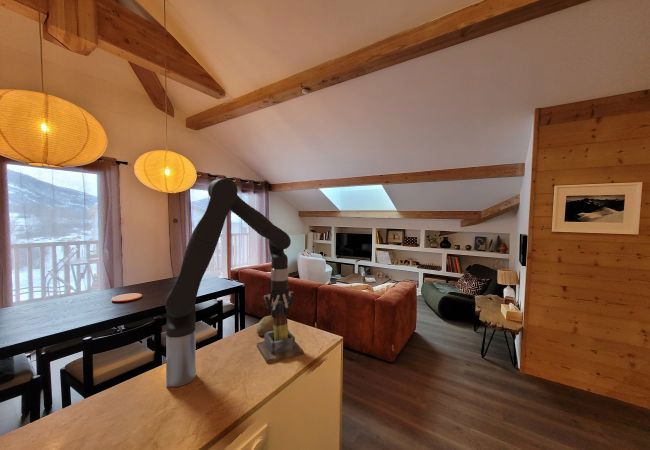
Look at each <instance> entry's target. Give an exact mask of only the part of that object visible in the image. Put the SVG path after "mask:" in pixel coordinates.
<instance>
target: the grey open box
mask: <svg viewBox="0 0 650 450" xmlns="http://www.w3.org/2000/svg"><path fill="white" fill-rule="evenodd" d="M263 337H264V340H263V341H258V342H256V348H257V349H258V351H259V353H260V354H261V356H262V358H263V359H264V360H265V362H266V364H271V363H275V362H278V361H281V360H285V359H289V358H292V357H296V356H301V355H303V354H304V349H303V348H302V347H301V346H300V345H299V344H298V343H297V342H296V338H295V335H293V334H292V333H291V331H289V330H288V339H284V340H279V341H275V342H274V331H270V332H267V333H264V336H263Z"/></svg>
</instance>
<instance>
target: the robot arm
mask: <svg viewBox="0 0 650 450" xmlns="http://www.w3.org/2000/svg"><path fill="white" fill-rule="evenodd" d="M207 194H208V195H209V197H210V198H209V201H208V204H207V207H206V210H205V212H204V213H203V215H202V216H201V218H200V219H199V221H198V223H197V225H196V226H195V227H194V229H193V231H192V233H191V236H190V238H189V239H188V243H187V245H186V249H185V251H184V254H183V255H184V256H183V259H182V263H181V267H180V271H179V275H178V277H177V279H176V282H175V284H174V286H173V288H172V289H171V290H170V291H169V292H168V294H167V296H166V299H165V302H164V306H165V307H164V308H165V311H166V324H165V325H166V326H165V338H166V339H165V340H166V343H165V345H166V349H165V351H166V355H165V356H166V357H165V373H166V375H165V377H166V378H165V379H166V380H165V381H166V382H165V384H166V385H165V387H166V388H169V387H171V388H173V387H174V388H176V387H182V386H185V385H188V384H190V383H191V382H193V380H195V379H196V375H197V373H196V372H197V370H196V369H197V367H196V365H197V364H196V363H197V362H196V361H197V360H196V359H197V358H196V351H197V349H196V342H197V341H196V336H197V335H196V301H197V296H198V293H199V289H200V285H201V282H202V279H203V278H204V275H205V273H206V271H207V270H208V268H209V266H210V262H211V261H212V259H213V256H214V254H215V252H216V248H217V246H218V244H219V243H218V242H219V239H220V237H221V234H222V232H223V228H224V225H225V221H226V220H227V217H228V215H229V212H231V213H233V214H235V215H236V216H237V217H238V218H239V219H241V220H242V221H243V222H244V223H245V224H247V225H248V226H249V227H250V228H251V229H252V230H254V231H255V232H256V233H257V234H259V235H260V236H261V237H262V238H264V239H267V240H268V247H269V252H270V257H271V269H270V292H269V293H268V294H264V295H263V299H264V301H265V302H264V303H265V306H266V309H268V310H270V315H271V316H272V317H273V318H275V313H276V312H275V311H276V309H275V307H276V305H277V302H280V301H283V302H284V312H285V316H286V317H287V316H288V311H289V310H288V308H289V307H291V306H292V305H293V303H294V298H295V295H296V294H295V292H294V291H292V290H291V291H290V290H289V266H288V265H289V263H288V261H289V259H288V255H287V254H286V253H285V250H286V249H288V248H289V247H290V246H291V243H292V242H291V237H290V236H289V234H288V233H287V232H286V231H284V230H282V229H281V228H280V227H278V226H277V225H275V224H273V222H272V221H270V220H269V219H268V218H267V217H266V216H265V215H264V214H262V213H261V212H260V211H259V210H257V209H256V208H254V207H252V206H251V205H249V203H247V202H245V201H244V200H243V199H242V198H241V197H240V196H239V195H238V187H237V184H236V183H235V181H234V180H232V179H231V178H228V177H223V178H222V177H221V178H218V179H214V180H212V181H211V182H210V183H209V185H208V188H207ZM287 297H288V299H287ZM271 298H272V299H271ZM270 299H271V303H270Z"/></svg>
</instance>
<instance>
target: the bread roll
mask: <svg viewBox="0 0 650 450" xmlns="http://www.w3.org/2000/svg"><path fill="white" fill-rule="evenodd" d="M273 324H274V322H273V317H272V316H271V314H270V315H267V316H264V317H263V318H261V319H260V321H259V322H258V324H257V326H256V333H257V335H258V336H260V337H264V333H267V332H270V331H274V327H273Z"/></svg>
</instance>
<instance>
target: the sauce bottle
mask: <svg viewBox="0 0 650 450" xmlns="http://www.w3.org/2000/svg"><path fill="white" fill-rule="evenodd" d="M273 322H274V324H273V327H274V342H275V341H279V340H284V339H288V331H289V324H288V317H287V315H286V316H285V312H284V302H283V301H280V302H277V305H276V307H275V318H273Z"/></svg>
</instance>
